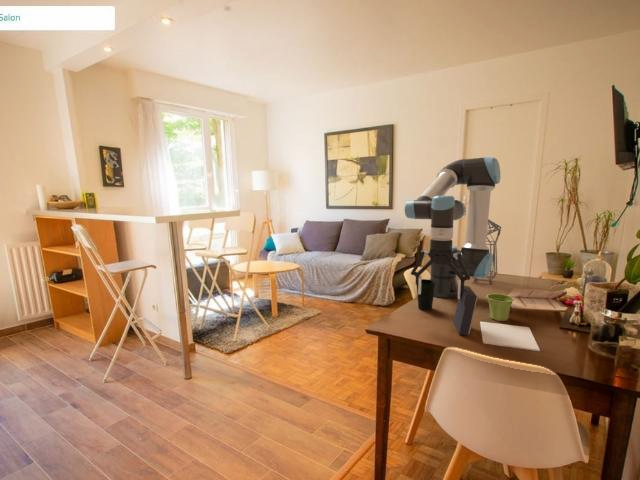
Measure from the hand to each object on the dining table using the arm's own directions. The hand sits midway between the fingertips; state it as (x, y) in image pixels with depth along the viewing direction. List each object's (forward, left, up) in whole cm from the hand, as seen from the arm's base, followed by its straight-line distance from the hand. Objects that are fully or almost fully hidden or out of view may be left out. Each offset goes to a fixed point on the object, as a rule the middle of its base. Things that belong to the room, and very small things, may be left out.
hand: (438, 295), depth 121 cm
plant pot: (-16, +22, -12) cm, 30 cm away
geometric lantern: (-69, +19, -12) cm, 73 cm away
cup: (-18, -6, -12) cm, 23 cm away
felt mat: (0, +23, -12) cm, 26 cm away
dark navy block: (0, +8, -12) cm, 14 cm away
